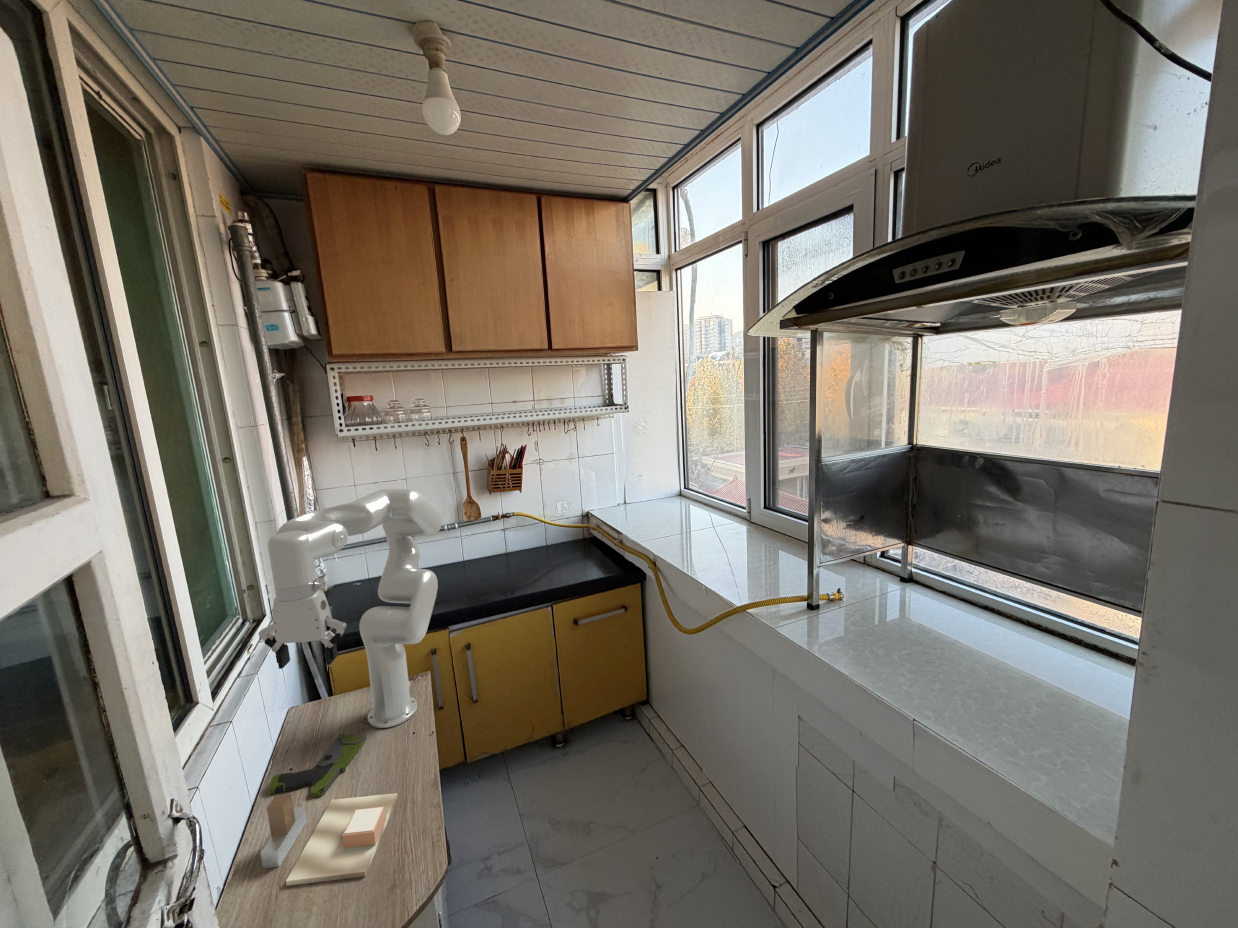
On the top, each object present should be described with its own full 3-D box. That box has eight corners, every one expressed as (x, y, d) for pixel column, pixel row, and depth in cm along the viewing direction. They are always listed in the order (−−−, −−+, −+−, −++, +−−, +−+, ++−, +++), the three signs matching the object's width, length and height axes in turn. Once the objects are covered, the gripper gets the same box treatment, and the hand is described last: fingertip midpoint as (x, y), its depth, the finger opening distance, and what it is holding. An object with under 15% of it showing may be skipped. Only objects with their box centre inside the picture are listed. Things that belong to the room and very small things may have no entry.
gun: (314, 740, 129) (370, 740, 129) (261, 799, 110) (326, 800, 110) (313, 731, 129) (369, 732, 129) (259, 789, 110) (325, 790, 110)
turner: (291, 822, 104) (285, 781, 102) (306, 820, 104) (300, 779, 103) (263, 868, 94) (255, 823, 92) (279, 866, 94) (272, 821, 93)
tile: (356, 821, 102) (355, 808, 102) (386, 818, 103) (385, 805, 103) (344, 848, 97) (342, 834, 96) (375, 844, 97) (374, 831, 97)
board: (332, 803, 108) (331, 799, 108) (397, 796, 110) (397, 792, 110) (286, 885, 91) (285, 880, 90) (365, 875, 92) (364, 871, 92)
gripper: (347, 579, 108) (357, 650, 111) (264, 584, 106) (276, 656, 109) (331, 594, 101) (342, 669, 104) (241, 600, 99) (255, 676, 102)
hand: (308, 663), depth 106 cm, fingers open, 9 cm apart
